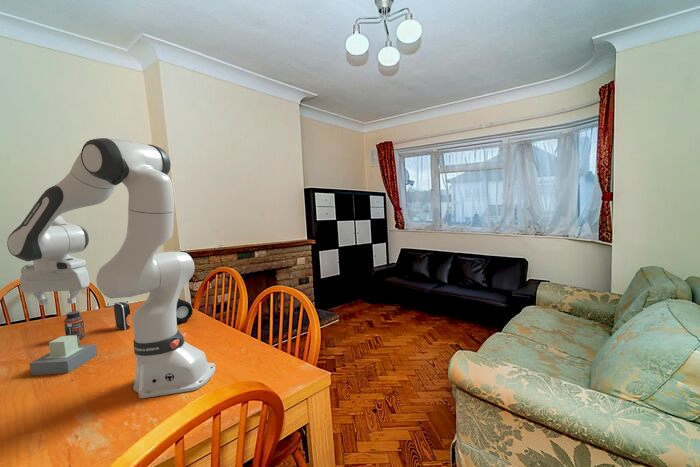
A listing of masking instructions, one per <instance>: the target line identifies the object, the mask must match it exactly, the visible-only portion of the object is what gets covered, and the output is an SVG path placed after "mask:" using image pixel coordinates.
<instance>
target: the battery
mask: <svg viewBox="0 0 700 467" xmlns="http://www.w3.org/2000/svg"><path fill="white" fill-rule="evenodd" d="M113 312H114V319H115V320H114V321H115V327H116V328H117V329H119V330H122V331H124V330H127V329H130V327H131V326H130V325H129V324H128V322H127V320H128V319H127V318H128V316H129V315H131V308H130V304H128V303H127V302H122V301H121V302H117V303H115V304H113Z"/></svg>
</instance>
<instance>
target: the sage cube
mask: <svg viewBox="0 0 700 467" xmlns="http://www.w3.org/2000/svg"><path fill="white" fill-rule="evenodd" d="M48 346H49V353H50V354H51V357H55V356H67V355H69V354H70V353H72V352H74V351H76V350H78V342H77V335H75V336H66V335H61V336H59V337H57V338H55V339H54V340H51V341H49V342H48Z"/></svg>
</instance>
